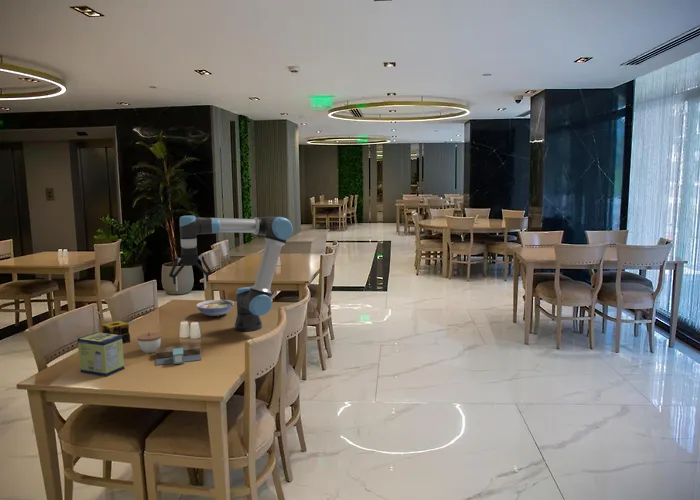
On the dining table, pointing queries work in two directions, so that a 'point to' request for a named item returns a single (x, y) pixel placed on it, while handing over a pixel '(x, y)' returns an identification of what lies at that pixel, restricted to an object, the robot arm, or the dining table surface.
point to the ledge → (168, 351)
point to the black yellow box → (117, 330)
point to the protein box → (101, 354)
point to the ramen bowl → (215, 307)
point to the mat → (170, 360)
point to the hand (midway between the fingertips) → (191, 289)
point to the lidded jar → (149, 342)
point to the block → (178, 356)
